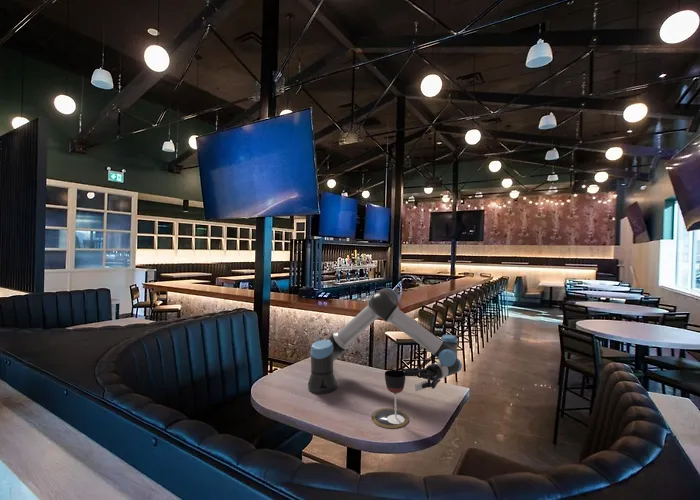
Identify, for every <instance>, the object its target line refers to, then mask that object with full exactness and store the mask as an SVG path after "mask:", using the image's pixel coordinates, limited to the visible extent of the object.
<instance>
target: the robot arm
mask: <svg viewBox="0 0 700 500" xmlns="http://www.w3.org/2000/svg"><path fill="white" fill-rule="evenodd" d="M398 301H399V297H398V294H397V292H396V291H395V290H394V289H392V288H390V287H384V288H380V290H378V291H376V292H375V293H374V294H373V295H371V298H369V300H367V305H366V306H365V307H364V308H363V309H362V310H361V311H360V312H358V313H357V315H356V316H355V317H353V318H352V319H351V320H350V321H349V322H348V323H347V324H346V325H345V326H344V327H342V328H341V329H340V330H339V331H333V332H332V334H331V335H329V336H328V337H327V338H326V339H320V341H319V340H317V341H315V342H313V343H312V344H311V346H310V377H309V379H308V383H307V390H308V391H309V392H311V393H312V394H313V393H314V394H318V395H319V394H322V395H323V394H328V393H332V392H334V391H336V389H337V388H338V381H337V380H336V376H335V373H334V362H335V360H337V359H338V358H339V357H341V356H342V355H343V354H344V353H345V352H346V351H347V350H348V349H349V347H350V343H352V342H353V341H354V340H355V339H356V338H357V337H358V336H359V335H360V334H361V333H363V332H364V331H365V330H366V329H368V327H369V326H371V324H373V323H374V322H375V321H376V320H377V319H379V318H380V319H382V320H383V321H384V322H386V323H390V324H392V325H393V326H395V327H396V328H397V329H399V330H400V331H401V332H403V333H404V334H405V335H406V336H408V337H409V338H411V339H412V340H413V341H415V342H416V343H417V344H419V345H420V346H421V347H422V348H424V349H425V350H426V351H428V352H429V353H431V354H432V355H433V356H434V357H436V358H437V359H438V361H437V362H433V363H432V364H429V365H427V366H426V367H425V368H424V369H421V367H420V366H418V367H411V368H410V367H409V368H407V367H406V368H401V369H400V371H403V372H405V377H417V378H419V379H420V378H422V379H424V381H421V382H417V383H416V384H414V387H415V389H414V391H416V392H418V391H421V390H423V389H428V388H431V389H436V386H437V385H438V384H439V383H440V382H441V379H444V378H446V377H447V378H448V377H450V376H452V375H455V374H457V373H459V372H461V370H462V368H463V367H462V365H463V364H462V362H461V359H460V358H458V338H457V336H455V335H453V334H443V335H442V337H441V339H440V338H439V337H437V336H436V335H435V334H433V333H432V332H430V331H429V330H427V329H426V328H425V327H424V326H422V325H421V324H420V323H418V322H417V321H415V320H414V319H413V318H412V317H410V316H409V315H407V314H406V313H405V312H404V311H402V310H401V309H400V308H399V305H398Z"/></svg>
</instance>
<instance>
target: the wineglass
mask: <svg viewBox="0 0 700 500" xmlns="http://www.w3.org/2000/svg"><path fill="white" fill-rule="evenodd" d="M384 380H385V384H386V388H387V390H388V391H389V393H392V394H394V409H395V415H390V416H388V417H387V420H388V422H390V423H392V424H401V423H403V422H404V420H405V419H404V417H402V416H400V415H397V411H396V409H397V394H399V393H401V392H403V391H404V388H405V383H406V376H405V372H403V371H401V369H389V370H386V371H384Z"/></svg>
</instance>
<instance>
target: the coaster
mask: <svg viewBox="0 0 700 500" xmlns="http://www.w3.org/2000/svg"><path fill="white" fill-rule="evenodd" d="M396 411H397V415H400V416H402V417H404V419H405V420H404V422H403V423H401V424H392V423H390V422H388V420H387V417H388V416H390V415H395V407H394V408H393V407H384V408H380V409H379V408H378V409H376V410H375V411H374V412H373V413H372V414H371V421H372V422H373V424H375V425H376V426H378V427H381V428H385V429H400V428H402V427H405V426H406V425H407V424H408V422H409V421H410V419H409V415H408V414H407V413H406V412H405V411H404V410H403V411H402V410H400V409H399V408H396Z"/></svg>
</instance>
